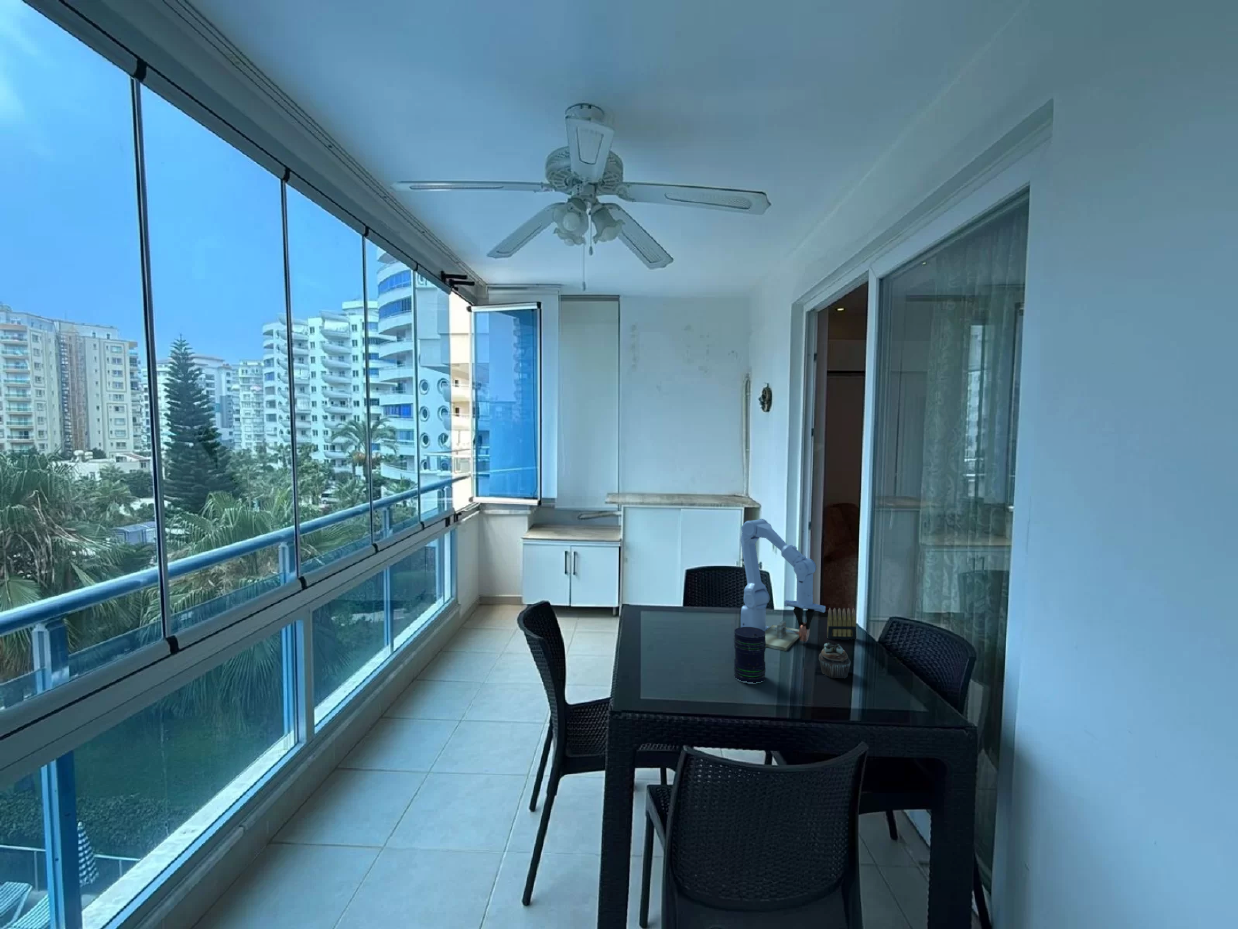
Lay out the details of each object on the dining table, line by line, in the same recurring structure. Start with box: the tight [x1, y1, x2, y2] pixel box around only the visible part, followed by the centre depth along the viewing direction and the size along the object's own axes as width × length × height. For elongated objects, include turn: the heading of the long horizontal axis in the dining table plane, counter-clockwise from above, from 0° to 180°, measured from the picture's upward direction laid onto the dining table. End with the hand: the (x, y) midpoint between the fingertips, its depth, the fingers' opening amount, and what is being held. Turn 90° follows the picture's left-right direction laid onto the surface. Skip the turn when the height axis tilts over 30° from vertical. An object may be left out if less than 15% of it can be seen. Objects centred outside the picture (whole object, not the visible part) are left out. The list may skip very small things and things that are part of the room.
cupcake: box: [818, 641, 852, 679], centre depth 180 cm, size 10×10×10 cm
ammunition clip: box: [825, 607, 857, 641], centre depth 212 cm, size 11×2×12 cm, turn 86°
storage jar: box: [733, 626, 767, 683], centre depth 177 cm, size 10×10×15 cm
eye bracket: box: [765, 620, 799, 652], centre depth 213 cm, size 12×22×6 cm, turn 147°
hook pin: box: [775, 621, 811, 643], centre depth 210 cm, size 12×7×7 cm, turn 57°
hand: (804, 628), depth 207 cm, fingers closed on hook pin, 2 cm apart
